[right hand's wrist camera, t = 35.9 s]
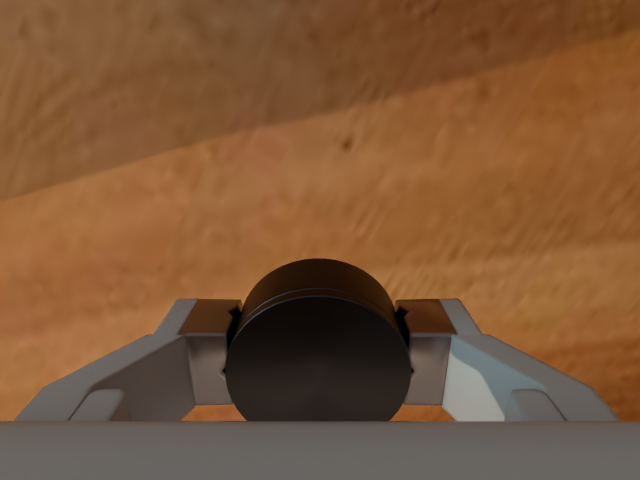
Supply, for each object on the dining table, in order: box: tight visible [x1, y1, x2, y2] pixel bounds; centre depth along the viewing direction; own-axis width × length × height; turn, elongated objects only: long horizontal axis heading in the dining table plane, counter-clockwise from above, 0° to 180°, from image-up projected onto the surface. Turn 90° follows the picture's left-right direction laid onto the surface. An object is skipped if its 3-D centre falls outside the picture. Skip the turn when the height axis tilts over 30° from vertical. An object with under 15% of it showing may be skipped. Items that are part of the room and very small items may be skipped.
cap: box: [225, 259, 412, 421], centre depth 9 cm, size 4×4×2 cm
